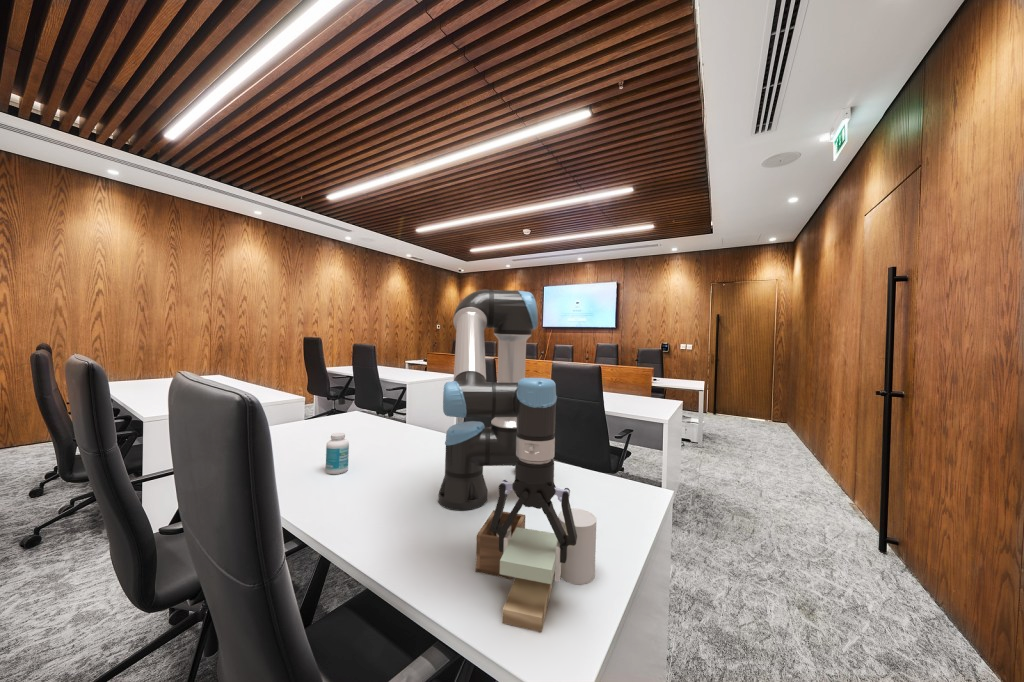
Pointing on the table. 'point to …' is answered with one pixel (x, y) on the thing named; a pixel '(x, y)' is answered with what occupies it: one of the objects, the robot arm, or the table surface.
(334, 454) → the pill bottle
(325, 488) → the table surface
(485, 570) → the box
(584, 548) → the cup
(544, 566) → the lid
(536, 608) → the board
